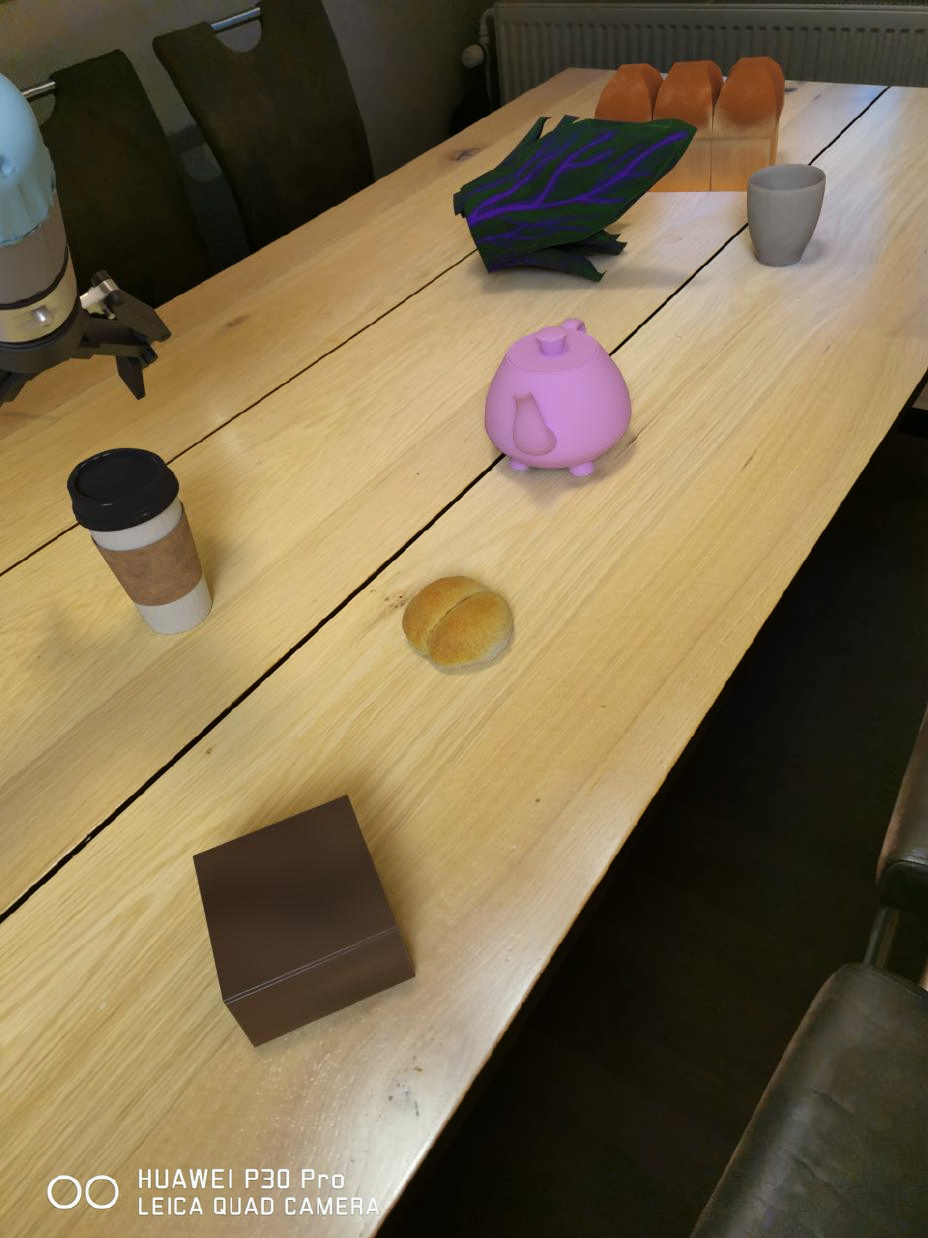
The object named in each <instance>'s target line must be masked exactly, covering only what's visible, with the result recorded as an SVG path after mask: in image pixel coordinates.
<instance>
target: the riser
mask: <svg viewBox="0 0 928 1238" xmlns="http://www.w3.org/2000/svg"><path fill="white" fill-rule="evenodd" d="M192 861H193V866H194V869H195V875H196V879H197V884H198V888H199V894H200V898H201V904H202V908H203V913H204V918H205V923H206V928H207V932H208V937H209V942H210V947H211V951H212V956H213V961H214V966H215V971H216V975H217V980H218V985H219V989H220V995H221V999H222V1002H223V1004H224V1005H225V1007H226V1008H227V1009H228V1011H229V1013H230V1014H231V1015H232V1017H233V1018H234V1020H235V1022H236V1023H237V1024H238V1025H239V1027H240V1029H241V1030H242V1031H243V1033H244V1035H245V1036H246V1038H247V1040H249V1041H250V1043H251V1045H252V1046H253V1047H254V1048H257V1047H259V1046H262V1045H264V1044H266V1043H269V1042H271V1041H273V1040H276V1039H278V1038H280V1037H282V1036H284V1035H286V1034H288V1033H291V1032H293V1031H296V1030H297V1029H301V1028H302V1027H305V1026H306V1025H309V1024H311V1023H314V1022H316V1021H318V1020H320V1019H322V1018H325V1017H327V1016H330V1015H332V1014H333V1013H336V1012H339V1011H341V1010H343V1009H345V1008H348V1007H350V1006H352V1005H355V1004H356V1003H359V1002H361V1001H363V1000H365V999H367V998H370V997H372V996H374V995H377V994H379V993H382V992H383V991H386V990H389V989H390V988H393V987H395V986H397V985H400V984H402V983H404V982H406V981H408V980H410V979H413V978H415V977H416V973H415V970H414V968H413V963H412V962H411V959H410V956H409V953H408V950H407V947H406V946H405V945H406V944H405V943H404V940H403V936H402V934H401V931H400V929H399V926H398V924H397V921H396V918H395V915H394V913H393V910H392V908H391V907H392V906H391V905H390V902H389V900H388V897H387V894H386V892H385V888H384V886H383V884H382V881H381V878H380V876H379V873H378V870H377V868H376V865H375V863H374V860H373V858H372V854H371V852H370V849H369V847H368V844H367V841H366V839H365V835H364V833H363V830H362V828H361V826H360V823H359V820H358V818H357V815H356V813H355V810H354V807H353V804H352V802H351V799H350V797H349V794H348V793H346V794H344V795H341V796H339V797H336V798H334V799H331V800H329V801H325V802H324V803H321V804H318V805H315V806H314V807H311V808H309V809H306V810H304V811H301V812H299V813H297V814H294V815H291V816H289V817H286V818H284V819H281V820H278V821H276V822H273V823H272V824H269V825H267V826H264V827H261V828H258V829H256V830H254V831H251V832H249V833H246V834H243V835H241V836H239V837H236V838H234V839H231V840H229V841H226V842H223V843H220V844H219V845H216V846H214V847H211V848H209V849H206V850H204V851H201V852H198V853H196V854H194V855H192Z"/></svg>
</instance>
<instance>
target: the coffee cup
mask: <svg viewBox="0 0 928 1238" xmlns="http://www.w3.org/2000/svg"><path fill="white" fill-rule="evenodd" d="M66 489H67V491H68V494H69V496H70V500H71V509H72V513H73V514H74V518H75V520H76V522H77V523H78V524H79V525H80V526H81V527H82V528H84V529H86V530H88V532H89V534H90V539H91V542H92V543H93V544H94V546H95V548H96V549H97V551H98V552H99V554H100V555H101V557H102V558H103V560H104V561H105V563H106V565H107V566H108V567H109V568H110V571H112V573H113V575H114V577H116V579H117V580H118V581H117V582H119V584H120V585H121V587H122V588H123V590H124V591H125V593H126V594H127V596H128V597H129V598H130V600H131V601H132V603H133V605H135V607H136V609H137V611H138V612H139V614H140V616H141V617H142V619H143V621H144V622H145V624H146V625H147V626H148V628H149V629H150V630H151V631H152V632H155V633H158V634H162V635H176V634H180V633H184V632H186V631H189V630H191V629H193V628H195V627H197V625H199V624H200V623H202V622H203V621H204V620H205V619H206V618H207V617H208V615H209V613H210V612H211V610H212V606H213V600H212V597H211V593H210V590H209V587H208V584H207V581H206V578H205V574H204V571H203V566H202V563H201V559H200V556H199V552H198V549H197V546H196V543H195V539H194V536H193V532H192V529H191V525H190V522H189V518H188V515H187V512H186V508H185V506H184V503H183V502H182V501H181V499H180V497H179V491H180V482H179V479H178V478H177V477H176V474H175V472H174V471H173V470H172V469H171V468H170V467H168V465H167V464H166V462H165V460H164V459H163V458H162V457H161V456H160V455H159V454H157V453H155V452H153V451H151V450H147V449H145V448H143V449H142V448H138V447H137V448H136V447H115V448H110V449H106V450H102V451H99V452H98V453H95V454H93V455H90V456H89V457H87V458H85V459H84V460H82V461H80V462H79V463H77V464H76V466H75V467H74V468H73V469H72V471H71V472H70V474H69V475H68V477H67V480H66Z"/></svg>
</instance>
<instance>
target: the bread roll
mask: <svg viewBox="0 0 928 1238" xmlns="http://www.w3.org/2000/svg"><path fill="white" fill-rule="evenodd" d="M401 628H402V631H403V633H404V635H405V637H406V639H407V640H408V642H409V643H410V644H411V645H412V646H413V647H414V648H416V649H417V650H419V651H420V652H421V653H423V654H424V655H426V656H427V657H428V658H429V659H430V660H431V661H432V662H433V663H435V664H436V665H438V666H440V667H442V668H445V669H450V670H451V669H460V668H466V667H470V666H474V665H479V664H483V663H488V662H490V661H491V660H493V659H494V658H495V659H496V658H497V656H499V654H501V653H502V651H503V650H504V649H505V648H506V647H507V645H508V643H509V640H510V638H511V636H512V633H513V629H514V619H513V613H512V610H511V608H510V606H509V603H508V601H507V600H506V599H505V597H503V596H502V595H501V594H499V593H497V592H494V591H491V590H490V589H488V588H487V587H486V586H484V585H483V584H481V582H478V581H477V580H475V579H471V578H469V577H467V576H463V575H462V576H461V575H455V576H446V577H441V578H438V579H436V580H434V581H432V582H430V583H428V584H427V585H425V586H424V587H423V588H422V589H420V590H419V592H417V594H415V595H413V596H412V598H410V600H409V601H407V604H406V605H405V607H404V612H403V615H402V621H401Z"/></svg>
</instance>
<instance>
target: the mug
mask: <svg viewBox="0 0 928 1238" xmlns="http://www.w3.org/2000/svg"><path fill="white" fill-rule="evenodd" d="M826 183H827V176H826V174H825V171H824V170H822V169H821V168H819V167H817V166H814V165H810V164H804V163H781V164H775V165H774V166H769V167H765V168H762V169H760V170H758V171H756V172H754V173H753V174H752V175H751V176H750V178H749V180H748V186H747V191H746V217H747V226H748V231H749V236H750V239H751V243H752V245H753V248H754V250H755V253H756V259H757V261H758V262H760V263H761V264H763V265H766V266H770V267H783V266H785V267H786V266H791V265H794V264H796V263H797V262H799V261H800V260H801V259H802V257H803V254H804V252H805V250H806V248H807V246H808V245H809V243H810V241H811V239H812V237H813V235H814V233H815V230H816V229H817V225H818V222H819V219H820V215H821V212H822V208H823V203H824V198H825V191H826Z"/></svg>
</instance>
